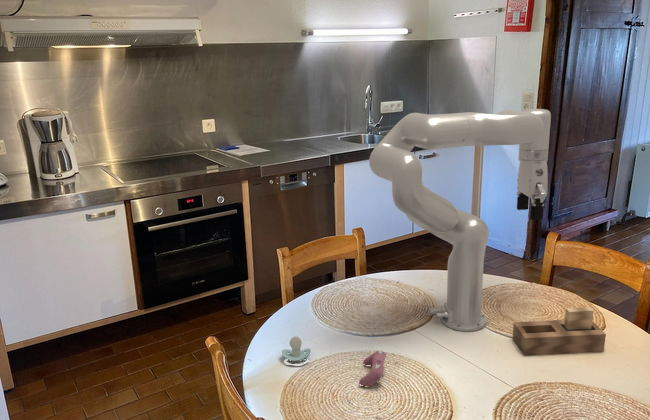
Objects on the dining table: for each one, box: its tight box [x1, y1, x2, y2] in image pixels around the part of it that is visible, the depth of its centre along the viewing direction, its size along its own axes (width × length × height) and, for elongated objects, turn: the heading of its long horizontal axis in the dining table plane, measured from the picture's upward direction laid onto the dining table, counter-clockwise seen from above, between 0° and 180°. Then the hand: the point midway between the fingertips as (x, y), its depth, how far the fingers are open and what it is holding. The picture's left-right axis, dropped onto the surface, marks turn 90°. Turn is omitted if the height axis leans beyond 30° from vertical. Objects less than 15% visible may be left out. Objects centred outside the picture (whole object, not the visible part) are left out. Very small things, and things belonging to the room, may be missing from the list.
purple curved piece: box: [358, 350, 387, 387], centre depth 125 cm, size 10×5×7 cm, turn 169°
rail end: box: [564, 306, 594, 331], centre depth 134 cm, size 6×2×10 cm, turn 90°
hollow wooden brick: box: [512, 319, 607, 357], centre depth 134 cm, size 20×8×5 cm, turn 91°
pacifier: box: [281, 335, 311, 364], centre depth 133 cm, size 7×6×6 cm
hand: (529, 214), depth 149 cm, fingers open, 9 cm apart
